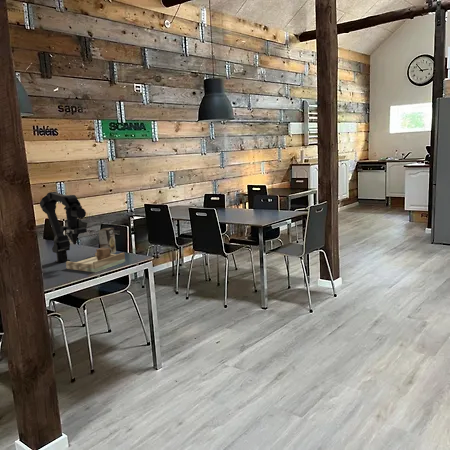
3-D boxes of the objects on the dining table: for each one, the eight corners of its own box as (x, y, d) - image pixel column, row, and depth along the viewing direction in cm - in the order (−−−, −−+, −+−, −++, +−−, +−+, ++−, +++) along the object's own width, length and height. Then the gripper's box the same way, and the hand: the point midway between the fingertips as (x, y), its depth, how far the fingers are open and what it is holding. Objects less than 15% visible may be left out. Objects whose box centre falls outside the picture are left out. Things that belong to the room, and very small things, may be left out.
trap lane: (66, 268, 253) (65, 259, 252) (97, 258, 273) (96, 250, 272) (95, 272, 242) (94, 262, 241) (125, 261, 261) (124, 252, 260)
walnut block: (97, 263, 253) (96, 249, 252) (104, 261, 257) (102, 247, 256) (104, 264, 250) (102, 250, 249) (110, 262, 255) (109, 248, 253)
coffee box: (110, 255, 279) (107, 230, 277) (100, 255, 281) (97, 230, 278) (116, 252, 288) (114, 227, 285) (107, 252, 290) (104, 227, 287)
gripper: (93, 216, 257) (96, 243, 259) (75, 214, 269) (78, 240, 271) (76, 219, 248) (79, 247, 251) (58, 217, 260) (61, 243, 263)
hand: (74, 244), depth 259 cm, fingers closed
